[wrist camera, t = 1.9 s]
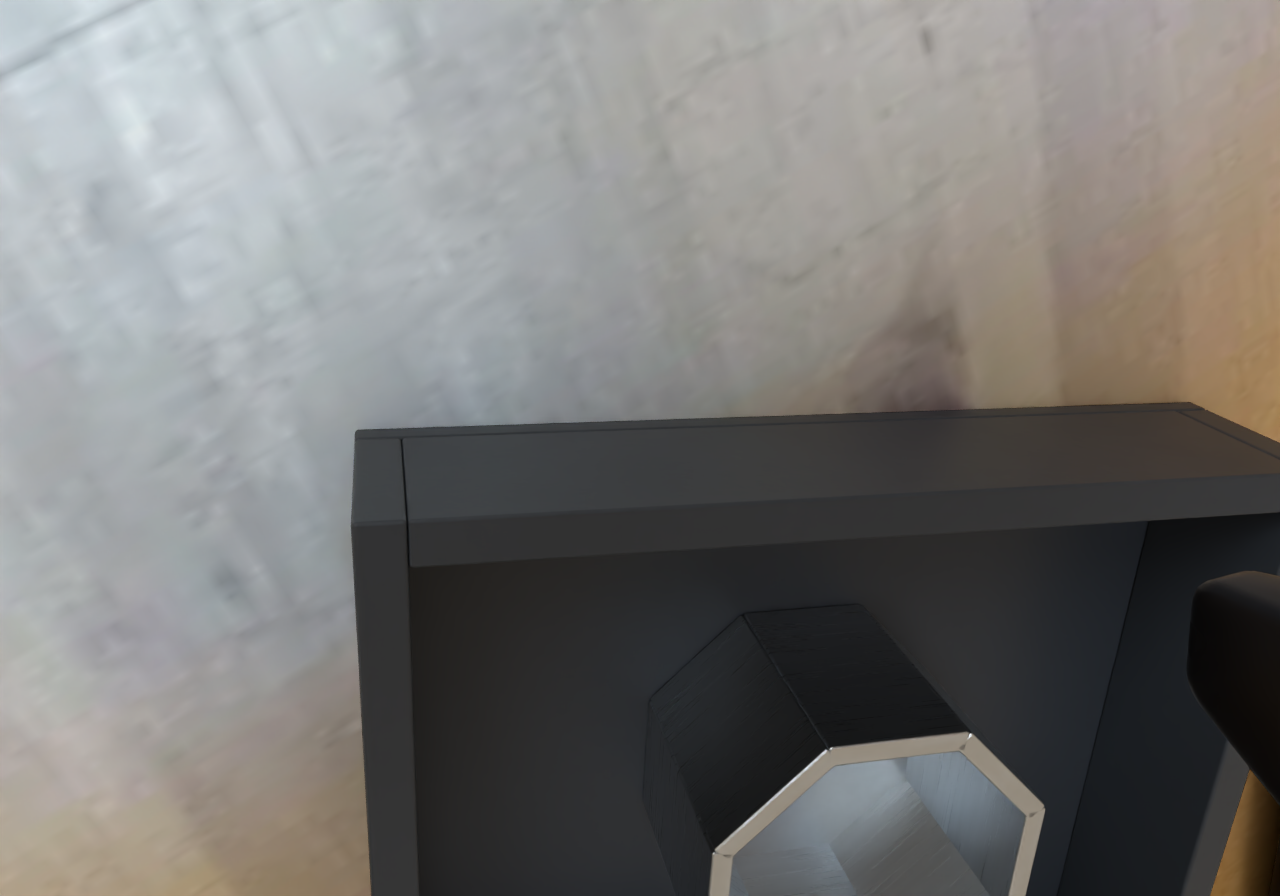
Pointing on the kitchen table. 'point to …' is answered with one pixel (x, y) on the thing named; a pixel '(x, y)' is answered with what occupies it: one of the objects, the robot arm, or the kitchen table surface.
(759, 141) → the kitchen table surface
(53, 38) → the kitchen table surface
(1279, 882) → the door handle
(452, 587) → the dark grey tray
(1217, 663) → the robot arm
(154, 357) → the kitchen table surface
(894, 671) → the octagonal metal cup
